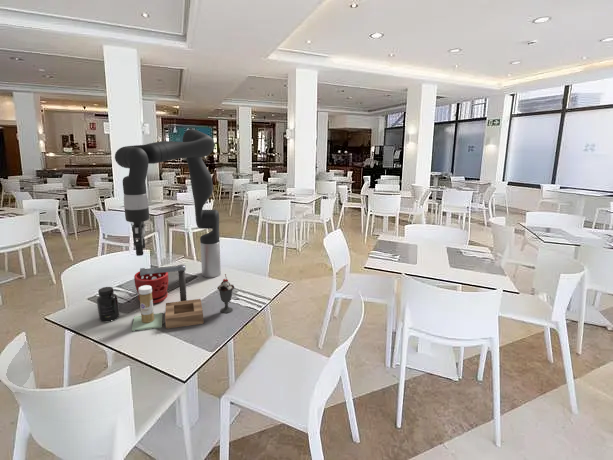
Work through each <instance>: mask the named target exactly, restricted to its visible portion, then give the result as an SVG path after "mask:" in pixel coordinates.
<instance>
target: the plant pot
mask: <svg viewBox="0 0 613 460" xmlns="http://www.w3.org/2000/svg"><path fill="white" fill-rule="evenodd" d="M153 277H155V278H154V279H153ZM133 278H134V286H135V289H136V290H135V291H136V292H137V294H138V296H137V298H138V301H139V302H140V296H139V292H138V288H139V287H141V286H144V285H149V286H151V287H152V299H153V304H159V303H161V302H163V301H164V300H166V298H168V295H169V294H168V288H169V272H164V273H153V274H145V275H142V276H140V270H139V271H137V272H136V273H135V274H134V276H133Z"/></svg>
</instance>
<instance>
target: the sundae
mask: <svg viewBox="0 0 613 460" xmlns="http://www.w3.org/2000/svg"><path fill="white" fill-rule="evenodd" d="M224 275H225V278H223V279H222V281H221V283H220V284H219V285H218V286H217V290H218V293H219V297H220V301H221V302H222V303H224V307H222V308H221V309H220V313H222V314H229V313H232V312H233V310H234V309H233V308H232V307H229V303H230V302H231V301H232V296H233V290H234V289H235V286H234V284H231V282H229V279H228V277H227V274H226V273H225V274H224Z"/></svg>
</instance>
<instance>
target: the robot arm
mask: <svg viewBox="0 0 613 460" xmlns="http://www.w3.org/2000/svg"><path fill="white" fill-rule="evenodd" d="M214 142H215V141H214V139H213V138H212V137H211V136H210V135H208V134H207V133H204V132H202V131H199V130H198V129H193V128H189V129H187V130H185V132H184V133H183V136H182V141H173V140H172V141H171V140H163V141H156V142H150V143H147V144H140V145H139V144H136V145H126V146H122V147H120V148H119V149H117V150H116V152H115V154H114V161H115V162H116V163H117V164H118V166H120V168H121V167H122V168H125V169H129V171H128V175H127V176H124V177H123V178H122V189H123V190H122V191H123V207H124V215H125V221H126V222H128V223H133V224H132V226H131V231H132V239H133V246H134V247H135V255H136V256H137V257H141V256H144V249H145V248H146V242H145V241H146V239H145V238H146V224H145V222H147V221H148V220H150V207H149V199H148V195H147V183H146V179H147V176H148V169H149V164H150V165H151V164H152V165H153V164H160V163H163V162H169V161H171V160H179V159H186V163H187V167H188V171H189V178H190V179H189V180H190V186H191V191H192V192H191V193H192V197H193V203H194V211H195V212H194V213H195V215H194V216H195V223H196V224H195V225H196V226H197V228H198V229H200V230H201V229H202V230H206V229H207V230H209V229H210V230H211V229H212V230H211V231H210V232H207V233H204V234H203V235H201V236H200V238H199V242H200V246H199V247H200V259H201V262H200V263H201V276H202V277H205V278H217V277H219V276H220V275H222V273H221V272H222V271H221V266H222V265H221V246H220V245H221V244H220V213H219V211H218V210H217V209H203V208H204V206H205V204H206V203H207V201H208V200H209V198H211V196H212V194H213V191H214V184H213V178H212V175H211V173H210V170H209V169H208V167H207V166H206V163H205V162H204V160H203V158H204V157H207V156H210V154H211V153H213V150H214V148H215V143H214Z"/></svg>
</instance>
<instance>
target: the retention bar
mask: <svg viewBox="0 0 613 460" xmlns="http://www.w3.org/2000/svg"><path fill="white" fill-rule="evenodd" d="M139 271H140V276H142V275H145V274H150V275H152V274H153V273H164V272H168V273H172V272H174V273H175V272H178V271H179V272H182V271H186V264H179V265H172V266H164V267H161V266H160V267H152V268H150V267H149V268H145V267H142V268H141V267H140V269H139ZM142 277H143V276H142Z"/></svg>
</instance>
